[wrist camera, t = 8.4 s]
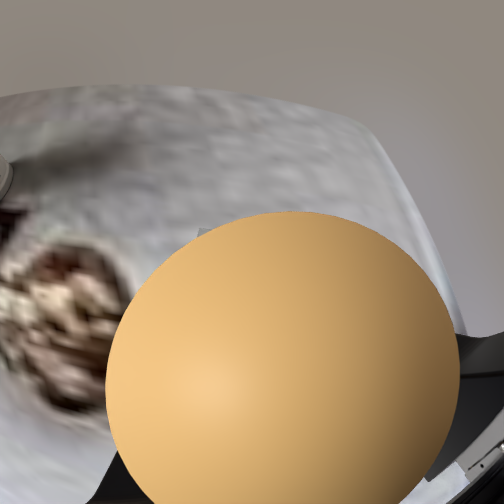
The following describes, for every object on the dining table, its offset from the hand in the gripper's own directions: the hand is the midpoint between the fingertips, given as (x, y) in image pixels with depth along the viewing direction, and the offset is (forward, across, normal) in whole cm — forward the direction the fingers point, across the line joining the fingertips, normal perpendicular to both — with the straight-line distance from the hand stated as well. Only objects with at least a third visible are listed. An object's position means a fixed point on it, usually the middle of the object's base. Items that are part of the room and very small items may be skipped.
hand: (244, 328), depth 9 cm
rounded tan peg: (+4, 0, +6) cm, 7 cm away
